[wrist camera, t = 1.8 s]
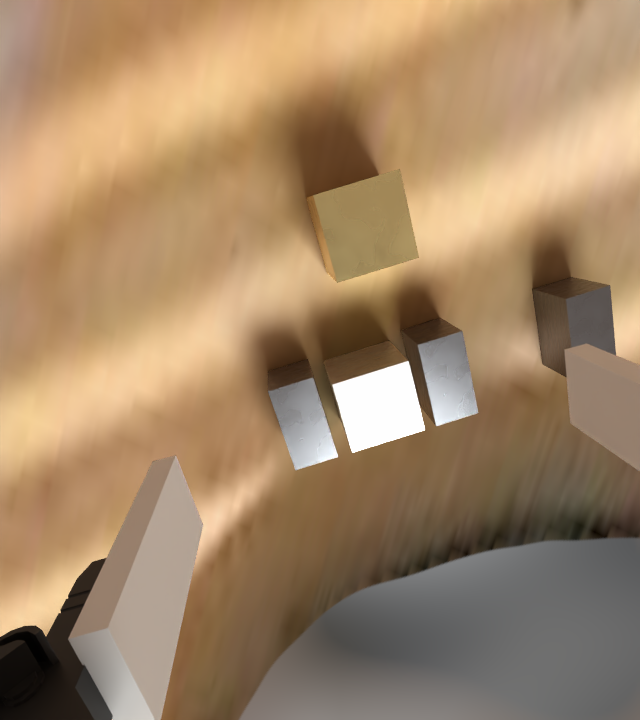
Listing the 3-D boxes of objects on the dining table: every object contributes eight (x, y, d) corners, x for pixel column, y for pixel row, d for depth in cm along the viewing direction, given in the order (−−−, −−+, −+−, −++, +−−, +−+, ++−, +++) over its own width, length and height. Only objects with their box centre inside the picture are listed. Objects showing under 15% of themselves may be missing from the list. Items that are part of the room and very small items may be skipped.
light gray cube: (322, 360, 34) (332, 384, 29) (388, 340, 34) (408, 361, 29) (340, 420, 35) (352, 452, 31) (403, 400, 36) (424, 429, 31)
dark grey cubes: (267, 371, 34) (267, 391, 30) (571, 277, 34) (610, 285, 30) (292, 442, 35) (295, 470, 32) (580, 352, 36) (617, 369, 32)
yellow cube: (305, 198, 30) (313, 195, 26) (379, 175, 31) (399, 168, 26) (326, 272, 32) (337, 282, 27) (396, 251, 32) (418, 257, 27)
